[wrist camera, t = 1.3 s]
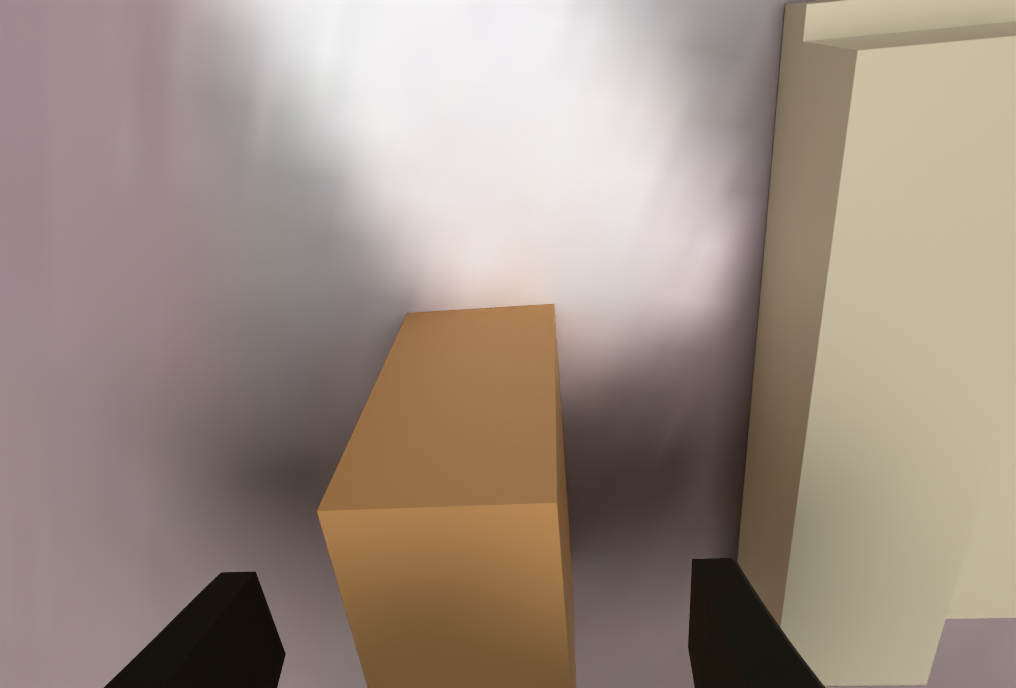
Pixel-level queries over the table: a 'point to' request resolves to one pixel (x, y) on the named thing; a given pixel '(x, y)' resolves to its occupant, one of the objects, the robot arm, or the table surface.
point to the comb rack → (886, 336)
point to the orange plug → (459, 508)
